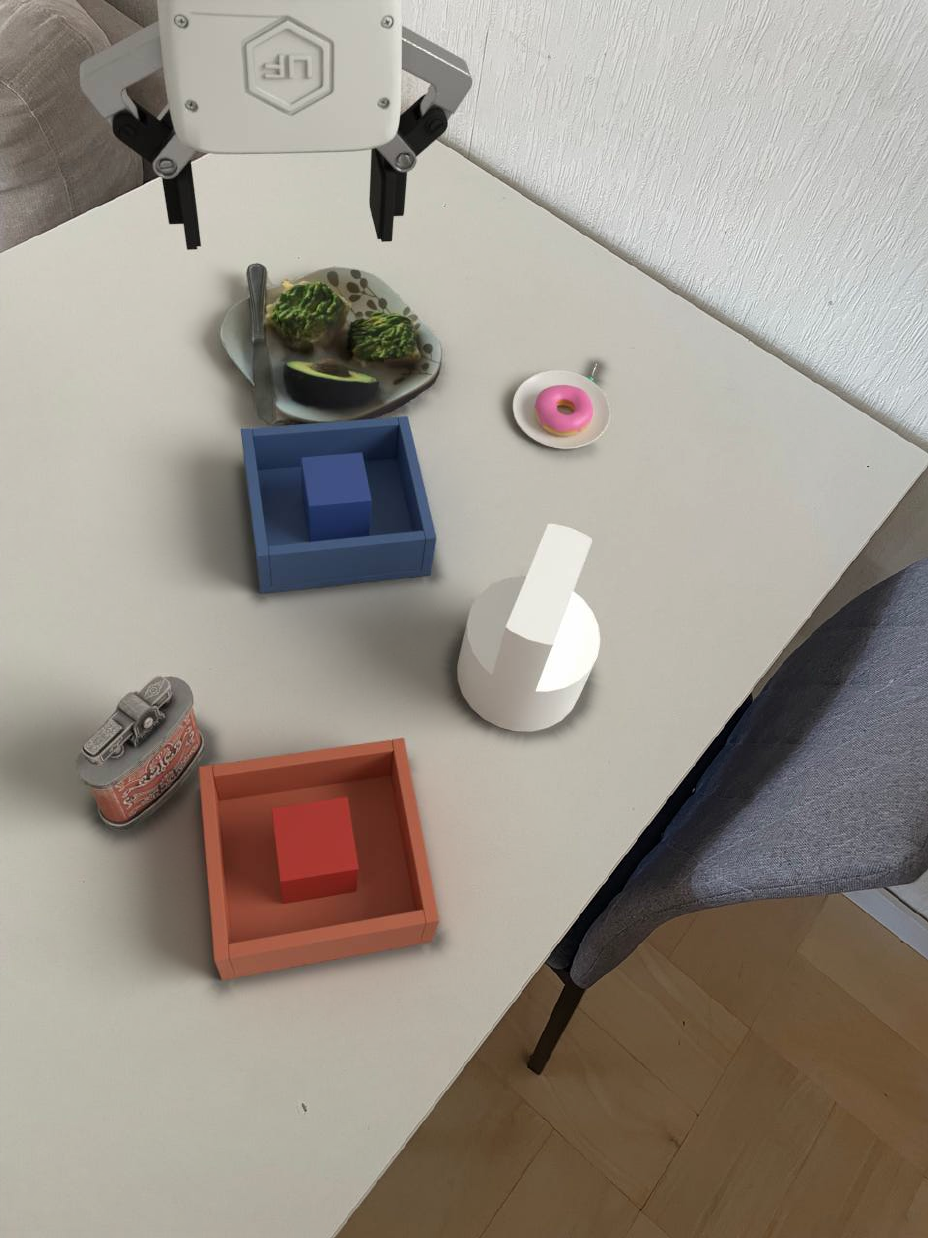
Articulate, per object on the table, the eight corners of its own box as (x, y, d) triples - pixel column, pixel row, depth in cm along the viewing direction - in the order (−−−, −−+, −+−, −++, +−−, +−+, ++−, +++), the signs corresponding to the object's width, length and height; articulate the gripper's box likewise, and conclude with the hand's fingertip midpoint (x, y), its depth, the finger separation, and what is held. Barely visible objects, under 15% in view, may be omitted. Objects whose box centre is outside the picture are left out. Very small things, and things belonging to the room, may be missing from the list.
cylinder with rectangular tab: (560, 750, 70) (599, 666, 60) (438, 703, 71) (457, 612, 61) (596, 646, 75) (638, 552, 65) (481, 604, 76) (505, 504, 65)
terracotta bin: (221, 980, 60) (214, 961, 56) (206, 796, 66) (198, 766, 61) (432, 942, 62) (439, 920, 58) (399, 767, 68) (404, 737, 64)
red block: (282, 904, 62) (279, 882, 58) (274, 834, 64) (271, 807, 60) (356, 891, 63) (358, 869, 59) (346, 822, 65) (347, 796, 61)
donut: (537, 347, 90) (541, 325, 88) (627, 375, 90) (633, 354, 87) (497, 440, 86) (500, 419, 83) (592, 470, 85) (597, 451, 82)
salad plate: (169, 310, 88) (161, 266, 84) (347, 247, 94) (348, 204, 90) (282, 462, 80) (279, 422, 76) (466, 382, 87) (473, 342, 83)
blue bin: (260, 594, 74) (256, 556, 70) (244, 470, 80) (240, 428, 76) (430, 575, 76) (436, 537, 72) (403, 456, 82) (407, 415, 78)
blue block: (309, 543, 76) (308, 506, 72) (301, 495, 78) (300, 456, 74) (369, 537, 77) (371, 500, 73) (360, 490, 79) (362, 451, 75)
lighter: (178, 719, 68) (157, 644, 60) (217, 748, 67) (201, 676, 59) (87, 810, 64) (51, 743, 56) (127, 842, 63) (96, 779, 55)
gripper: (27, -119, 34) (115, 286, 49) (519, -104, 38) (466, 269, 52) (28, -217, 38) (110, 186, 53) (477, -196, 42) (438, 177, 56)
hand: (287, 227), depth 52 cm, fingers open, 9 cm apart
